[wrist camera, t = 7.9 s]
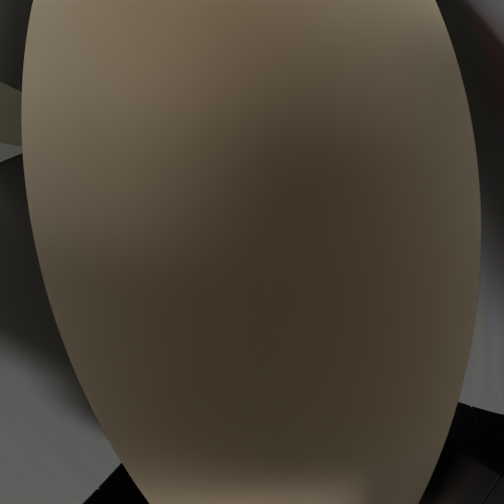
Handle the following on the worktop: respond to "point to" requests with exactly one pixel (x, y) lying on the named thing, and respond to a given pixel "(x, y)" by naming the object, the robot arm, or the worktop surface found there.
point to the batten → (257, 238)
